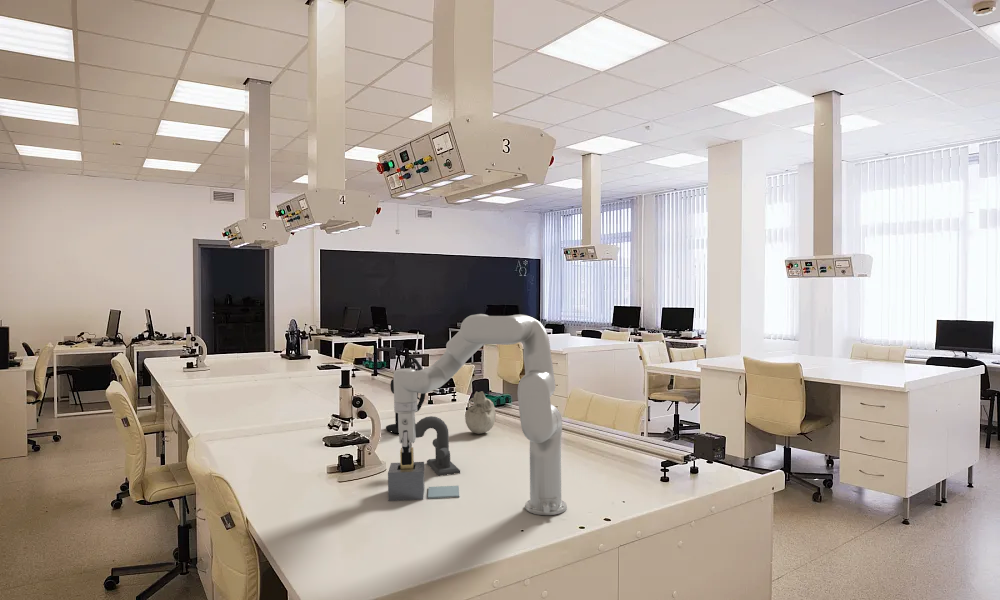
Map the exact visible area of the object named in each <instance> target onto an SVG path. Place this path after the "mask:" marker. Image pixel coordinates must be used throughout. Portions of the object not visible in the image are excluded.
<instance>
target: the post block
mask: <svg viewBox="0 0 1000 600" xmlns="http://www.w3.org/2000/svg"><path fill="white" fill-rule="evenodd" d="M424 497H425V461H415V462H414V469H409V470H401V463H400V462H390V465H389V469H388V472H387V499H388V501H387V502H394V501H396V502H397V501H417V500H419V501H422V500H424Z"/></svg>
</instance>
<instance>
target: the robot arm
mask: <svg viewBox="0 0 1000 600" xmlns="http://www.w3.org/2000/svg"><path fill="white" fill-rule="evenodd" d="M518 343H521V344H522V347H523V350H522V351H523V353H522V354H523V363H524V375H523V376H522V377H521V378H520V379H519V382H518V386H517V402H518V411H519V418H520V427H521V430H522V433H523V435H524V436H525V438H526V439H527V440H529V498H530V499H528V500H527V501H526V502H525V504H524V508H525V510H526V511H528V512H529V513H531V514H534V515H539V516H553V515H554V516H555V515H560V514H562V513H565V511H566V510H567V503H566V502H565V500H562V434H563V433H562V432H563V418H562V417H563V416H562V414H561V412H560V411H559V409H558V408H557V407H556V406H555V405H554V404H552V403H551V397H552V396H553V394H554V393H555V391H556V381H555V380H556V379H555V373H554V372H555V371H554V363H553V360H552V353H551V343H550V338H549V335H548V332H547V330H546V328H545V326H544V325H543V324H542V323H541V322H540V321H539V320H537V319H536V318H534V317H532V316H529V315H527V314H521V313H520V314H513V315H488V314H484V313H477V314H471V315H469V316H467V317H466V318H464V319H463V320H462V322H461V325H460V329H459V330H458V332H457V333H456V334H455V335H454V336H453V337H451V338H450V339H449V340H448V341H447V342H446V345H445V347H446V349H445V351H444V353H443V354H442V355H441V357H440V358H439V359H437V361H436V362H434V364H432V365H431V366H430V367H426V368H422V370H417V371H415V370H416V369H415V368H414V369H415V370H414V369H412V368H410V369H409V368H408V367H407V368H406V367H404V369H400V368H398V369H395V370H394V372H393V379H394V394H393V404H394V405H393V408H394V410H393V412H394V413H398V429H399V434H398V440H399V441H398V442H399V444H401V448H402V452H401V459H402V465H411V464H412V454H411V448H412V444H414V443H415V442H416V439H417V438H416V431H415V423H416V414H415V413H417V412H416V411H418V409H417V405H418V399H417V393H418V394H421V393H426V394H428V393H430V392H433V391H435V390H437V389H439V388H441V387H442V386H444V385H445V384H446V383H447V382H448V381H449V380H450V379H452V378H453V377H454V376H455V375H456V374H457V373H458V372H459V371H460V369H462V367H463V366H464V365H465V364H466V362H467V361H468V360H469V359H470V358H471V357H472V356H474V354H476V352H477V351H479V350H480V349H481V348H482V347H483V346H484V345H506V346H508V345H515V344H518ZM418 412H419V411H418Z"/></svg>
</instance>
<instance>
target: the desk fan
mask: <svg viewBox="0 0 1000 600" xmlns="http://www.w3.org/2000/svg"><path fill="white" fill-rule="evenodd" d="M410 360H412V361H411V362H410ZM413 364H415V365H416V366H417V368H415V367H414V365H413ZM406 365H408V366H407V368H409V369H414V370H415V371H418V370H422V369H423V367H422V366H421V364H420V363H419V360H417V358H415V357H413V356H410V357H409V356H408V357H407V358H405V359H404V361H403V363H402V364H401V366H400V368H399V369H405V368H406ZM389 386H390V391H391V394H393V395H394V378H393V379H391V380H390V385H389ZM426 394H427V393H420V397H419V393H417V400H419V401H418V402H417V409H418V411H416V412H415V413H418V412H419V411H420V410H421V408H422V406H423V404H424V403H425V402H424V401H425V399H426ZM394 413H395V412H394ZM394 418H395V420H394V421H395V423H392V424H388V425H386V426H385V430H386V429H388V430H390V431H392V432H395V433H399V429H398V413H395V417H394ZM416 424H417V422H415V425H416ZM388 430H387V431H388ZM390 431H389V432H390ZM392 432H391V433H392Z"/></svg>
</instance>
